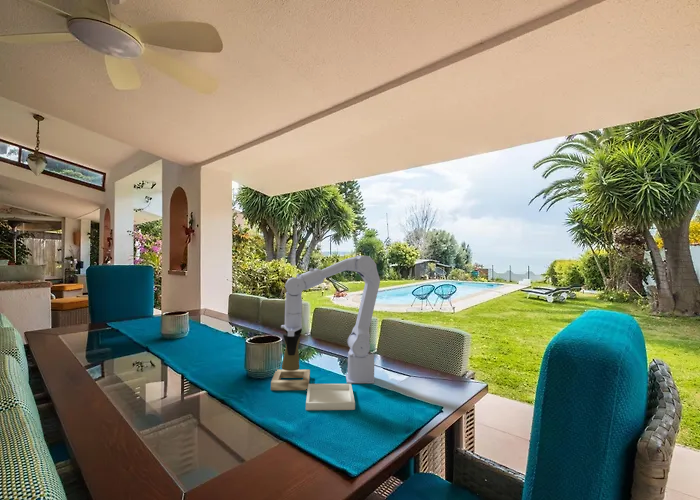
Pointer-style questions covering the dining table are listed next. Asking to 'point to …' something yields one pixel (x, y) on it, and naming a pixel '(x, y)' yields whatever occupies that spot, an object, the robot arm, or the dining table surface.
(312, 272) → the robot arm
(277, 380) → the frame
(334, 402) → the tray
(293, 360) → the olive tall rounded piece
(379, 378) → the dining table surface
